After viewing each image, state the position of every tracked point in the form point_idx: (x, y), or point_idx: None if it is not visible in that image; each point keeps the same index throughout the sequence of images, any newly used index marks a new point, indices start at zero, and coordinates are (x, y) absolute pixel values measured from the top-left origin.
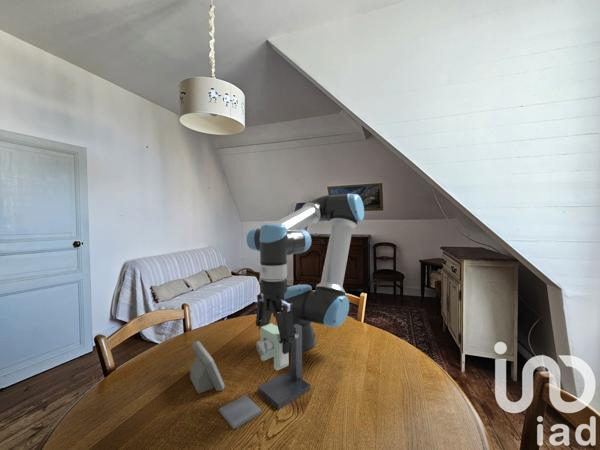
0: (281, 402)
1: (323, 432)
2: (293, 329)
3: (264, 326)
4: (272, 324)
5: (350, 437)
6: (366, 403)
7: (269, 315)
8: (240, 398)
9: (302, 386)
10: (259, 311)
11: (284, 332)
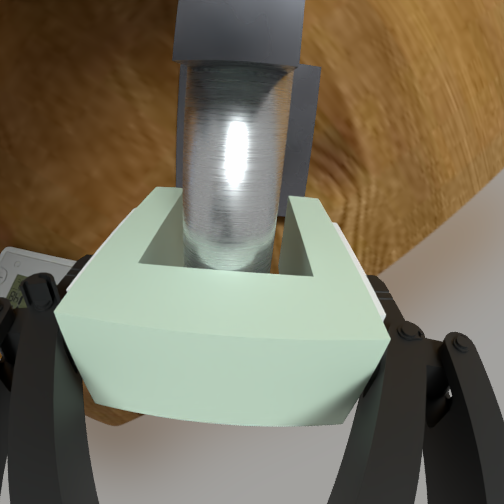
0: None
1: (437, 193)
2: (493, 405)
3: (98, 386)
4: (87, 327)
5: (482, 169)
6: (470, 41)
7: (70, 465)
8: (183, 266)
9: (303, 93)
10: (1, 470)
11: (423, 440)
